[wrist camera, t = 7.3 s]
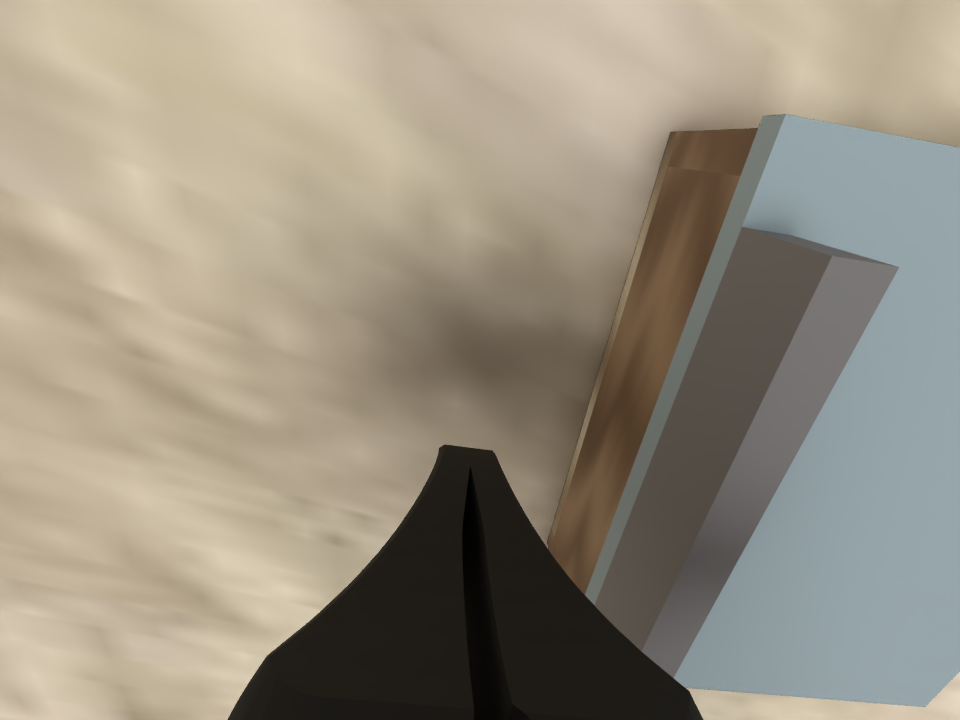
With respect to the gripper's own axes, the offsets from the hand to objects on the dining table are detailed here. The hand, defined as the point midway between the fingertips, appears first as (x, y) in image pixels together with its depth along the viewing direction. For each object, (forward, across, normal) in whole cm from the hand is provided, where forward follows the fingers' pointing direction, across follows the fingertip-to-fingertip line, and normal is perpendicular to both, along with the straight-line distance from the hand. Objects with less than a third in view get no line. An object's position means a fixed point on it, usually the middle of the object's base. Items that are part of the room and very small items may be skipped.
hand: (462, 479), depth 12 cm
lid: (+2, -12, 0) cm, 12 cm away
